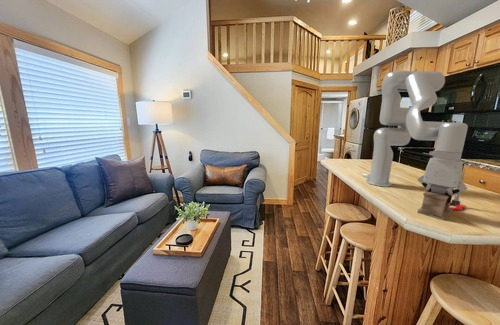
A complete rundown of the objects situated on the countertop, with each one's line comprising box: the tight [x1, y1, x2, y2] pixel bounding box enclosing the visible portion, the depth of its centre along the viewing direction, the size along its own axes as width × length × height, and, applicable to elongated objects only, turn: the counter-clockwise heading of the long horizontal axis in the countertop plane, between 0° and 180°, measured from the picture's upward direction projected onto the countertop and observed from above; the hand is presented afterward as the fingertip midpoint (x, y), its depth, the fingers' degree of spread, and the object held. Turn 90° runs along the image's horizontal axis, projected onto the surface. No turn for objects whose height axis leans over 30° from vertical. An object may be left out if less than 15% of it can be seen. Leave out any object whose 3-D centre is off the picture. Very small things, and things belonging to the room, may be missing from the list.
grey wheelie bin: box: [431, 184, 448, 196], centre depth 82 cm, size 5×5×10 cm
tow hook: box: [449, 176, 467, 212], centre depth 88 cm, size 8×13×9 cm
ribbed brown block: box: [417, 187, 454, 221], centre depth 83 cm, size 8×14×8 cm, turn 128°
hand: (436, 201), depth 83 cm, fingers open, 4 cm apart
